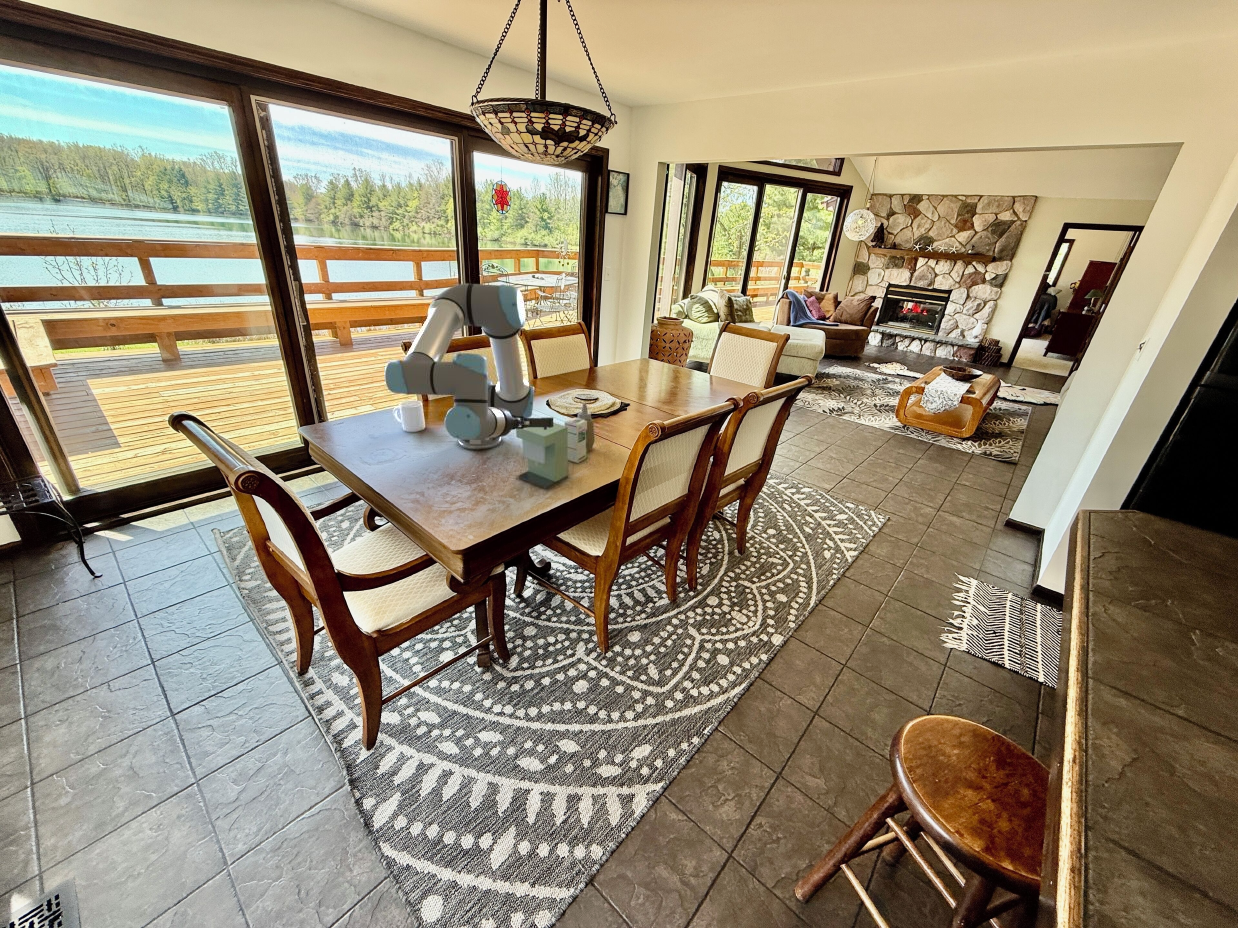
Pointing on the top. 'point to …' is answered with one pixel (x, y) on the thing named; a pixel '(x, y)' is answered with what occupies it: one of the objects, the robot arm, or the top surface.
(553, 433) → the dispenser
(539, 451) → the push plate
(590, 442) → the squeeze bottle
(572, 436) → the syrup box
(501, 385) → the robot arm
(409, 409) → the mug
